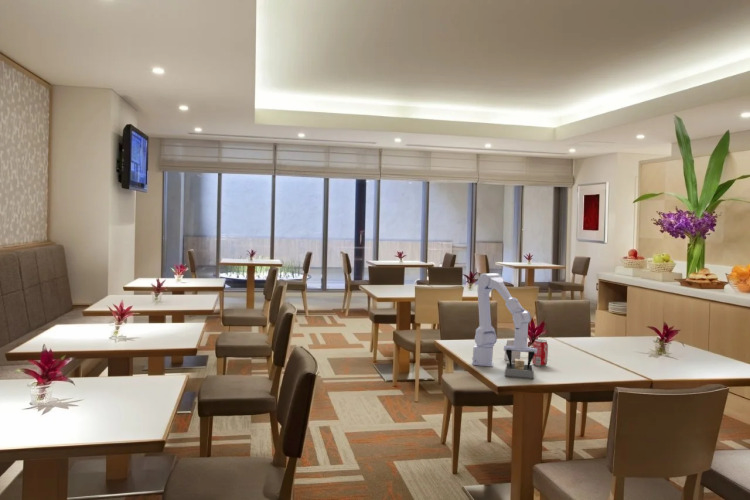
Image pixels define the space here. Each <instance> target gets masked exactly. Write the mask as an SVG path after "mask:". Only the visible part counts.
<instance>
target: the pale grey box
mask: <svg viewBox="0 0 750 500" xmlns="http://www.w3.org/2000/svg"><path fill="white" fill-rule="evenodd" d="M505 346H514V339H511V340H509V339H508V340H506V344H505ZM515 359H521V352H518V351H512V357H511V362H515ZM504 360H505V361H507V362H509V359H508V356H507V354H506V351H504Z"/></svg>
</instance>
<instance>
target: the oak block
mask: <svg viewBox="0 0 750 500" xmlns="http://www.w3.org/2000/svg"><path fill="white" fill-rule="evenodd" d="M514 364H515V369H517V370H524V364H525V359H524V358H520V359H515V361H514Z"/></svg>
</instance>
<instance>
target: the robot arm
mask: <svg viewBox="0 0 750 500" xmlns="http://www.w3.org/2000/svg"><path fill="white" fill-rule="evenodd" d="M477 284H478V285H477V303H478V304H477V305H478V322H479V323H478V325H479V326H478V327H477V328H476V329H475V335H474V343H475V344H476V345H474V344H473V351H472V357H471V359H472V365H473V366H481V367H491V368H492V367H494V362H493V357H494V355H493V354H494V353H493V352H494V347H495V344H496V343H497V342H498V341H497V340H498V336H497V334H496V329H495V327H493V325H492V318H491V302H490V301H491V300H490V293H491V292H492V291H493V290H496V291H497V293H498V294H499V295H500V296H501V297H502V299H503V300H504V301H505V307H506V308H507V309H508V311H509V313H510V314H511V315H512V318H511V319H512V322H513V326H514V338H513V340H514V346H506V345H503V351H504V352H505V351H506V354H507V356H508V359H509V361H508V363H510V367H511V365H512V363H513V362H512V361H511V357H512V351H518V352H520V353H528V355H527V364H526V365H527V369H529V366H530V365H531V363H532V358H533V357H534V353H537V348H533V347H528V335H529V334H528V333H529V324H530V323H531V322H532V321H531V320H532V314H531V313H530V311H529V310H526V309H525V308H524V307H523V306H522V304H521V303H520V302H519V299H518V298H516V297H513V296H512V295H511V293H510V291H509V290H508V287H507V286H506V285H505V283H504V278H503V277H502V276H501V274H500V273H498V272H495V273H494V272H493V273H485V272H484V273H481V274H480V275H479V276H478V278H477Z"/></svg>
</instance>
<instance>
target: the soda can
mask: <svg viewBox="0 0 750 500" xmlns="http://www.w3.org/2000/svg"><path fill="white" fill-rule="evenodd" d="M532 348H537V353H534V357H533V358H532V360H531V362H532V365H533V366H538V367H545V366H546V365H548V359H549V358H548V354H549V343H548V341H547V340H546V339H534V342H533V345H532Z"/></svg>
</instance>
